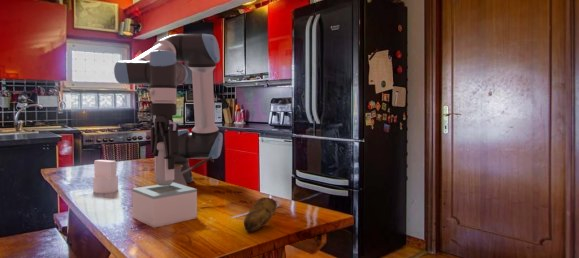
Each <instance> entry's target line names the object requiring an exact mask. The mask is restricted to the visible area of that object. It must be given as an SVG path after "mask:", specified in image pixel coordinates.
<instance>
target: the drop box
mask: <svg viewBox="0 0 579 258" xmlns="http://www.w3.org/2000/svg"><path fill="white" fill-rule="evenodd" d="M131 197H132V202H131V203H132V218H133V219H135V220H137V221H139V222H141V223H143V224H145V225H147V226H150V228H151V227H152V228H153V229H155V228H158V227H164V226H169V225H172V224H177V223H182V222H185V221H190V220H194V219H198V203H197V202H198V189H197V188H194V187H191V186H188V185H187V186H185V185H181V184H178V183H174V182H173V183H172V184H171V185H166V186H160V185H158V184H154V185H148V186H147V185H146V186H141V187H133V188H131Z"/></svg>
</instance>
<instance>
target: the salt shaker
mask: <svg viewBox="0 0 579 258" xmlns="http://www.w3.org/2000/svg"><path fill="white" fill-rule="evenodd" d="M157 150H159V153H158V159H157V165H156V171H155V170H154V180H155V182H156V185H160V186H166V185H171V184H172V181H173V180H168V181H165V159H164V157H166V152H165V146H164V142H159V143H158V144H157Z"/></svg>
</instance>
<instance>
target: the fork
mask: <svg viewBox="0 0 579 258" xmlns="http://www.w3.org/2000/svg"><path fill="white" fill-rule="evenodd" d="M276 204H277V207H276V209H277V208H278V207H280V206H281V205H282V204H284V202H282V201H277V202H276ZM249 212H250V211H248V212H244V213H241V214H237V215H234V216H231V219H237V218H240V217H243V216H244V217H245V216H247V214H248V213H249ZM236 217H237V218H236Z"/></svg>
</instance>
